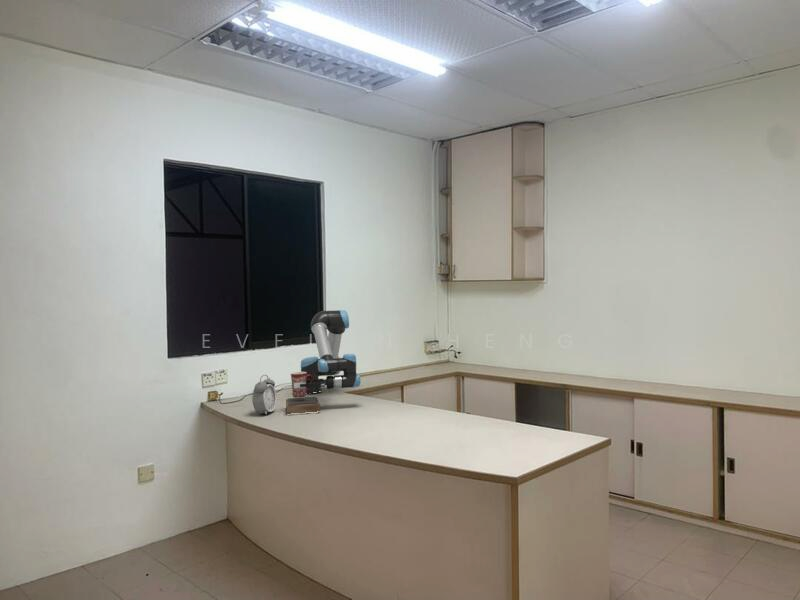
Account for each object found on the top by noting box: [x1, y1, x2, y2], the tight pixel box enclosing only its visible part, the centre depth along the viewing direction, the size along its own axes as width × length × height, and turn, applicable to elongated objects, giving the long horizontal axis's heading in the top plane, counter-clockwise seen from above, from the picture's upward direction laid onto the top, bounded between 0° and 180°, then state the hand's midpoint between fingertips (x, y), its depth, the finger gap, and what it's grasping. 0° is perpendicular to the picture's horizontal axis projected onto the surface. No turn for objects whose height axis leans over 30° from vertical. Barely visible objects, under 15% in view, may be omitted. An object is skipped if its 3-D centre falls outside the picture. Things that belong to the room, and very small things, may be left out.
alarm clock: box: [251, 374, 277, 415], centre depth 312 cm, size 16×9×22 cm, turn 168°
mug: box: [290, 371, 312, 398], centre depth 318 cm, size 13×9×14 cm
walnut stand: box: [285, 396, 321, 415], centre depth 318 cm, size 18×18×6 cm
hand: (293, 384), depth 316 cm, fingers closed on mug, 8 cm apart
